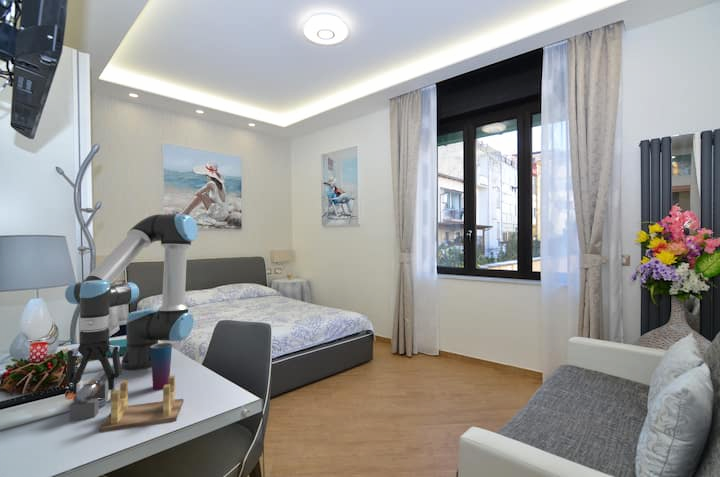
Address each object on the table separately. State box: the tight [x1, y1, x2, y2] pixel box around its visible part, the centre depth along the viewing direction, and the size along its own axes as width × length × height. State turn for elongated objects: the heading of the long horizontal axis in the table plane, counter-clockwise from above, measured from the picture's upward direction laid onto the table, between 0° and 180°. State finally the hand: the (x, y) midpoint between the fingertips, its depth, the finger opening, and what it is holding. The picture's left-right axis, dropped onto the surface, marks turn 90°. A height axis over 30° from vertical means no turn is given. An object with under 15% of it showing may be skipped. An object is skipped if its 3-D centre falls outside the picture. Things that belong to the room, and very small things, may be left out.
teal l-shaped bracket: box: [106, 338, 127, 357], centre depth 164 cm, size 18×11×10 cm, turn 117°
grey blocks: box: [69, 384, 115, 422], centre depth 111 cm, size 17×6×4 cm, turn 19°
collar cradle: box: [98, 374, 184, 433], centre depth 105 cm, size 13×19×10 cm
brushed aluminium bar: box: [73, 369, 108, 405], centre depth 111 cm, size 18×4×4 cm, turn 19°
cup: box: [150, 342, 173, 391], centre depth 126 cm, size 7×7×15 cm
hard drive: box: [70, 371, 100, 387], centre depth 131 cm, size 2×8×12 cm
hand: (93, 401), depth 111 cm, fingers open, 7 cm apart
